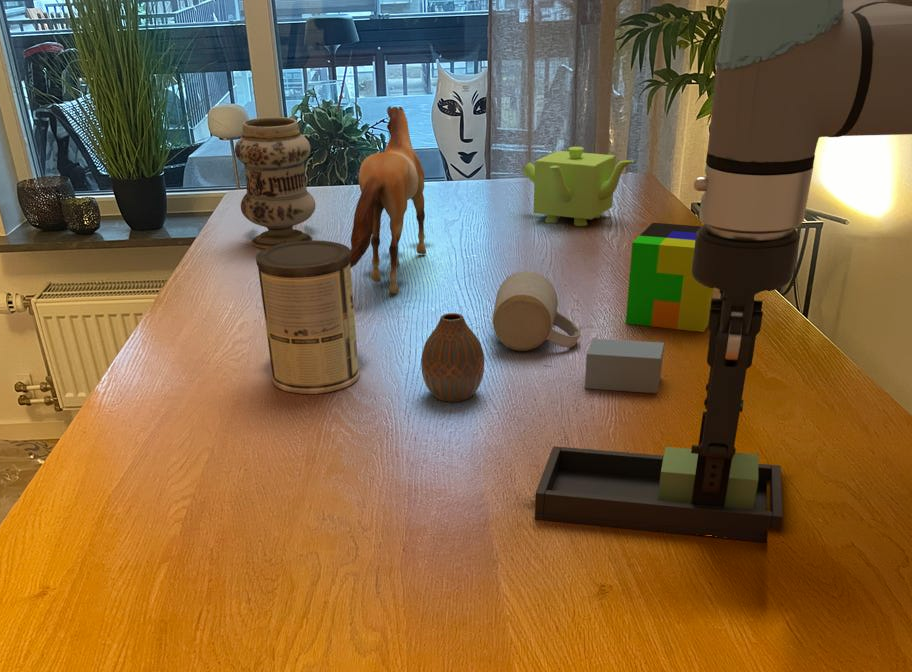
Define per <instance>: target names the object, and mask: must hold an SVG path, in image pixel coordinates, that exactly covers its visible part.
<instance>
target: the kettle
mask: <svg viewBox="0 0 912 672" xmlns="http://www.w3.org/2000/svg"><path fill="white" fill-rule="evenodd" d="M567 149H568V150H567V151H565V150H557V151H555V152H552V153H551V154H547V155H545V156H543V157H541V158H539V159H537V160H534V164H533V163H532V162H531V161H530V162H528V163H527V164H526V165H525V166H524V167H523V169H522V171H521V173H522V174H523V175H524V176H525V177H526V178H527V179H529V181H531V182H532V184H533V210H532V211H533V212H532V213H533V214H539V215H546V218H545V220H544V222H545V223H551V224H553V223H557V222H558V221H559V219H560V217H563V218H564V217H566V218H573V225H574V226H576V227H584V226H588V221H587V220H593V219H599V218H601V214H603V213H605V212H606V211H609V210H610V209H612V208H613V201H614V193H615V191H616V190H617V188H618V185H619V182H620V179H621V175H622V174H623V171H624V169H625V168H627V166H628V165H630V164H632V163H635V160H630V159H625V160H620V161H618V162H617V161H616V160H617V156H616V155H614V154H603V153H590V152H584V151H585V148H584V147H582V146H571V147H568V148H567ZM616 162H617V163H616Z"/></svg>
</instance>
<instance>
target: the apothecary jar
mask: <svg viewBox="0 0 912 672" xmlns="http://www.w3.org/2000/svg"><path fill="white" fill-rule="evenodd" d="M310 153H311V144H310V142H309V140H308V139H307V138H306V136H304V135H303V134H302V133H301V131H300V129H299V123H298V120H296V119H295V118H292V117H283V116H263V117H255V118H251V119H247V120H245V121H243V122H242V133H241V137H240V138H239V139H238V140H237V142H236V143H235V146H234V154H235V157H236V158H237V160H238V161H239V162H241V163H242V164H243V167H244V171H245V182H246V193H245V195H244V196H243V197H242V199H241V201H240V211H241V214H242V215H243V217H245V218H246V219H247V220H248V221H249V222H250V223H252V224H254V225H256V226H260V227H264V228H266V229H267V230H265V231H263V232H261V233H260V234H258V235H256V236H255V237H253V239H252V241H251V244H252V246H253V247H255V248H257V249H262V250H264V249H266V248H268V247H271V246H275V245H278V244H282V243H289V242H296V241H313V238H312V236H311V235H309V234H308V233H305V232H303V231H302V230H299V229H295V228H294V226H297V225H299V224H300V225H301V224H302V223H304V222H306V221H308V219H310V218H311V217H312V216H313V214H314V213H315V211H316V206H317V205H316V199H315V198H314V196H313V195H312V194H311V192H309V191H308V189H307V181H306V169H305V161H306V160H307V159H308V158H309V156H310Z"/></svg>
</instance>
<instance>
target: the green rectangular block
mask: <svg viewBox="0 0 912 672" xmlns="http://www.w3.org/2000/svg"><path fill="white" fill-rule="evenodd" d="M691 449H692V448H684V447H672V446H665V447H664V452H663V456H664V457H663V463H662V468H661V475H660V484H659V492H658V501H667V502H677V503H688V504H691V501H692V494H693V487H694V480H695V473H696V466H697V459H698V454H694V453H691ZM758 464H759V454H758V453H757V454H754V453H746V452H744V453H743V452H735V455H734V456H733V458H732V462H731V468H730V475H729V481H728V487H727V493H726V499H725V505H724V507H730V508H740V509H751V510H753V507H754V502H755V496H756V491H757V485H758Z"/></svg>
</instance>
